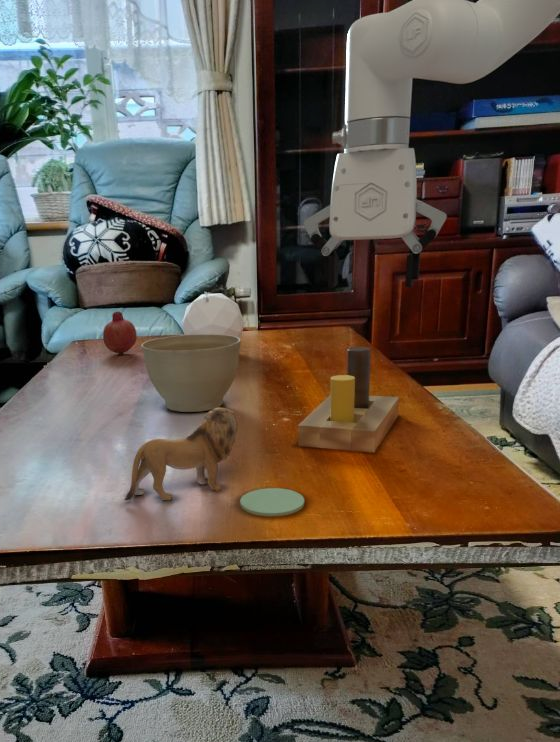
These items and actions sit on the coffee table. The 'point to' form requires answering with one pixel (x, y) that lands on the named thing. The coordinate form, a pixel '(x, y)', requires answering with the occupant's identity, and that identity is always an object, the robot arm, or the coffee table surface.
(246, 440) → the coffee table surface
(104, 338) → the fruit
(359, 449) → the stand
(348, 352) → the walnut peg
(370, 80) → the robot arm
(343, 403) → the yellow peg
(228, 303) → the geodesic sphere
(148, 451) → the lion figurine
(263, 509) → the coaster
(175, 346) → the planter bowl
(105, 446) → the coffee table surface
